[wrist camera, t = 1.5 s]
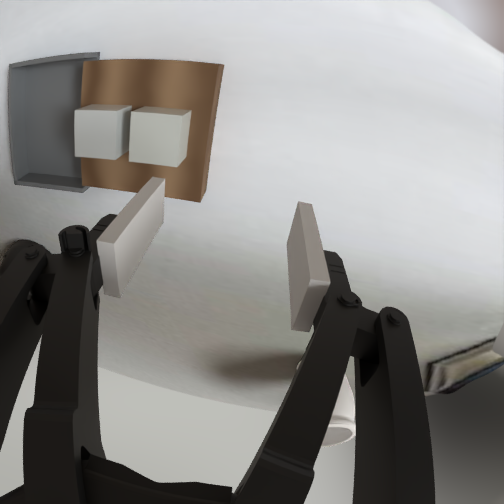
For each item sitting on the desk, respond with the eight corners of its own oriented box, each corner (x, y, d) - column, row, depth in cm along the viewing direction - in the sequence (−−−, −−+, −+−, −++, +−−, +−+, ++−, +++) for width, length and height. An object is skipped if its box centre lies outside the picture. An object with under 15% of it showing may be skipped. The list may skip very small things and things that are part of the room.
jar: (308, 385, 58) (311, 452, 46) (279, 362, 54) (279, 436, 42) (355, 366, 54) (367, 436, 42) (331, 340, 50) (342, 418, 38)
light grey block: (90, 146, 30) (75, 156, 27) (91, 104, 28) (74, 110, 25) (129, 150, 31) (115, 160, 28) (131, 105, 28) (117, 110, 25)
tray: (28, 174, 36) (14, 184, 33) (26, 61, 26) (9, 64, 24) (95, 182, 36) (82, 192, 34) (99, 52, 27) (84, 52, 24)
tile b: (141, 151, 31) (128, 161, 28) (144, 106, 28) (131, 111, 25) (186, 156, 31) (177, 167, 28) (191, 110, 28) (182, 115, 25)
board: (95, 175, 36) (82, 185, 33) (99, 60, 28) (83, 61, 25) (206, 190, 37) (200, 202, 34) (224, 64, 28) (218, 64, 25)
